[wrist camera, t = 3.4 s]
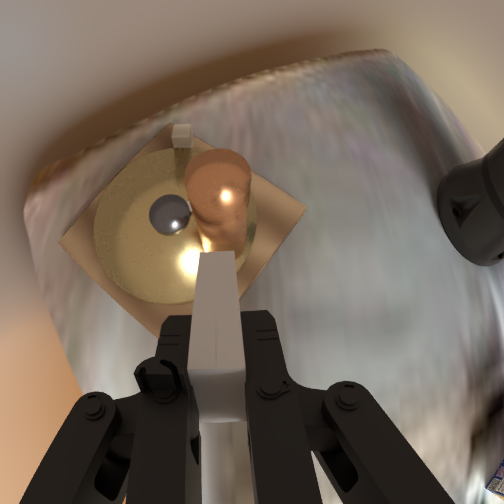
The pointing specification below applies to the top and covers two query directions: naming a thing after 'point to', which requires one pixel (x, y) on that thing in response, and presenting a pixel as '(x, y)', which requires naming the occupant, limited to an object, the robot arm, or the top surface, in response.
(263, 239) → the levelling stand
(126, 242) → the disc
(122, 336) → the top surface
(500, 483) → the beverage box
